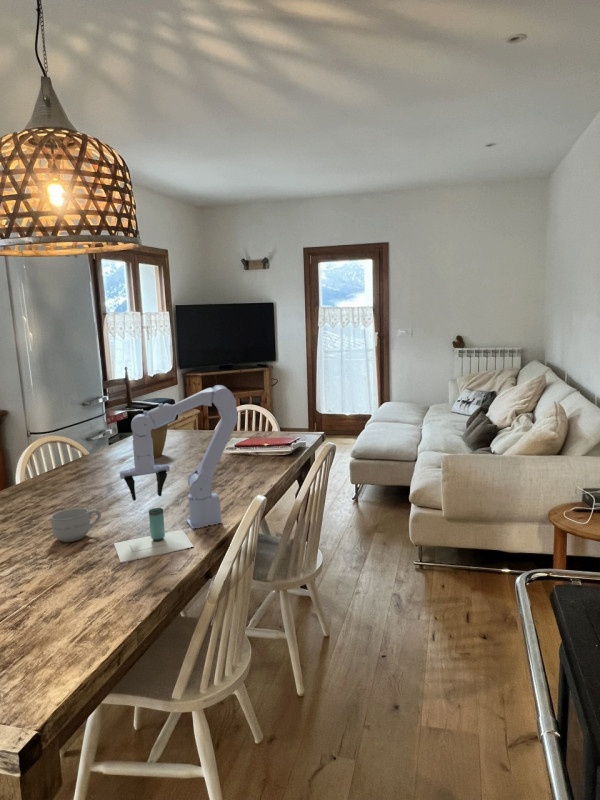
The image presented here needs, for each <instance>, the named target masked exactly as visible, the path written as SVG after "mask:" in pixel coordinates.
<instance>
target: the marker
mask: <svg viewBox="0 0 600 800" xmlns="http://www.w3.org/2000/svg"><path fill="white" fill-rule="evenodd" d="M164 516H165V515H164V509H163V508H162V507H154V508H151V509H149V510H148V519H149V529H150V530H149V531H150V536H151V538H152V539H153V541H154V542H159V541H162V540H163V537H165V533H166V531H165V517H164Z"/></svg>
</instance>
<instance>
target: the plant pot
mask: <svg viewBox="0 0 600 800" xmlns="http://www.w3.org/2000/svg"><path fill="white" fill-rule="evenodd" d="M168 424H169V423H167V424H165V425H163V426H161V427H158V428H156V429H152V430H151V438H152V442H153V455H154V457H155V458H159V457H162V455H163V451H164V450H165V445H166V441H167V434H168Z"/></svg>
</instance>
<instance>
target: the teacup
mask: <svg viewBox="0 0 600 800" xmlns="http://www.w3.org/2000/svg"><path fill="white" fill-rule="evenodd" d="M95 513H96V515H97V517H96V519H95V520H93V521H91V522H90V519H91V517H92V514H95ZM101 518H102V513H101V511H100V510H99V509H95V508H93V509H91V510H89V509H88V508H84V507H75V508H67V509H64V510H61V511H57V512H55V513H52V514H51V516H50V517H49V519H50V523H51V528H52V529H51V530H52V534H53V536H54V538H55V539H57V540H59V541H61V542H63V543H69V542H71V543H72V542H76V541H79V540H81V539H83V538H84V537H85V536H86V535H87V534H88V533H89V531H90V530H91V529H92V528H93V526H95V525H96V524H97V523H98V522H99V521H100V520H101Z"/></svg>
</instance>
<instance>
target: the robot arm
mask: <svg viewBox="0 0 600 800" xmlns="http://www.w3.org/2000/svg"><path fill="white" fill-rule="evenodd" d="M212 404H213V405H214V406H215V407H216V409H217V411H218V414H219V416H220V420H219V422H218V424H217V426H216V428H215V431H214V433H213V434H212V437H211V439H210V442H209V444H208V446H207V448H206V451H205V452H204V455H203V457H202V459H201V461H200V463H199V464H198V465H197V467H196V469H195V470H194V471H193V472H192V473H191V474H190V475H189V477H188V479H187V484H188V487H189V494H188V495H187V497H188V498H187V499H188V509H189V518H187V519H186V523H187V525H189V527H190V528H191V529H192V530H196V529H199V528H200V527H201V528H205V527H204V526H206V527H209V526H208V525H211V526H214V525H213V524H216V525H219V524H218V523H221V524H222V523H223V521H222V510H221V501H220V497H219V494H218V493H217V492H216V493H215V492H214V493H213V492H212V483H213V480H214V474H215V470H216V469H217V466H218V464H219V462H220V460H221V458H222V455H223V453H224V451H225V449H226V447H227V444H228V442H229V440H230V438H231V436H232V434H233V431H234V430H235V428H236V425H237V423H238V420H239V415H238V409H237V408H238V407H237V400H236V398H235V396H234V395H233V392H232V391H231V390H230V389H228V388H227V387H226V386H225V385H222V384H216V385H214V386H212V387H207V388H204V389H203V390H200V391H198V392H196V393H194V394H193V395H190V396H188V397H186V398H184V399H182V400H180V401H178V402H175V403H174V404H170V403H166V402H165V403H164V404H163V402H161V403H159V404H158V406H157V407H155V408H151V409H150V410H144V411H143V413H139V414H136V415H135V416H134V417H133V418H132V420H131V423H130V428H131V431H132V450H133V459H134V460H133V462H134V467H132V468H129V469H128V468H127V469H125V470H120V471H119V478H120V479H121V480H124V482H125V483H126V485H127V487H128V490H129V492H130V495H131V499H132V501H133V502H135V501H137V497H136V488H135V482H136V481H135V479H134V477H140V476H145V475H151V474H155V476H156V477H155V478H156V485H157V489H156V490H157V491H156V493H157V496H158V497H162V495H163V493H162V492H163V489H164V488H163V487H164V484H165V482H166V479H167V477H168V473H169V472H170V465H169V464H168V463H167V464H155V458H154V455H153V442H152V438H151V430H152V429H156V428H158V427H161V426H163V425H165V424H167V423H168V424H169V423H171V422H174V421H175V420H176V417H177V415H180V414H181V413H184V412H186V411H189V410H192V409H194V408H196V407H199V406H205V407H206V406H207V407H212V406H213V405H212ZM195 528H196V529H195Z"/></svg>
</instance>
